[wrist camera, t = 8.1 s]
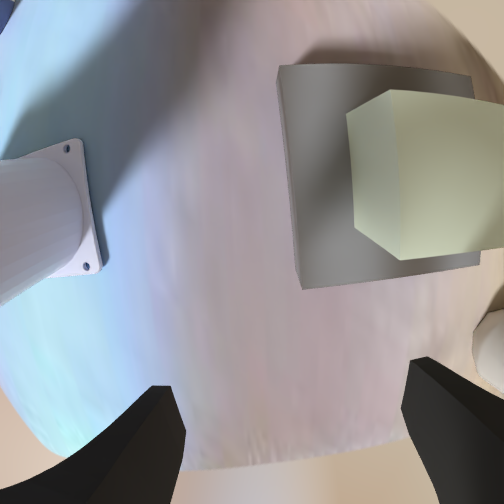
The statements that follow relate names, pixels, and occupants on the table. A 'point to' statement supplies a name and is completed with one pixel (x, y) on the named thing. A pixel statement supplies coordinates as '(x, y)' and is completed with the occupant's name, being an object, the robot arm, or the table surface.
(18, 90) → the table surface
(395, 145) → the sage block
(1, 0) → the cream belted dress
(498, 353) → the salt shaker
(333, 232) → the gray plinth
